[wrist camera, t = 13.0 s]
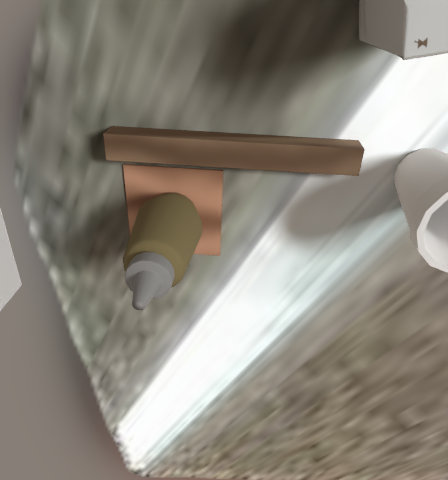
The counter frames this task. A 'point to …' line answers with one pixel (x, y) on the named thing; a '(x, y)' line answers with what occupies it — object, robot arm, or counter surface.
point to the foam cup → (426, 202)
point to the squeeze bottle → (160, 246)
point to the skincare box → (405, 26)
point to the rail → (215, 155)
